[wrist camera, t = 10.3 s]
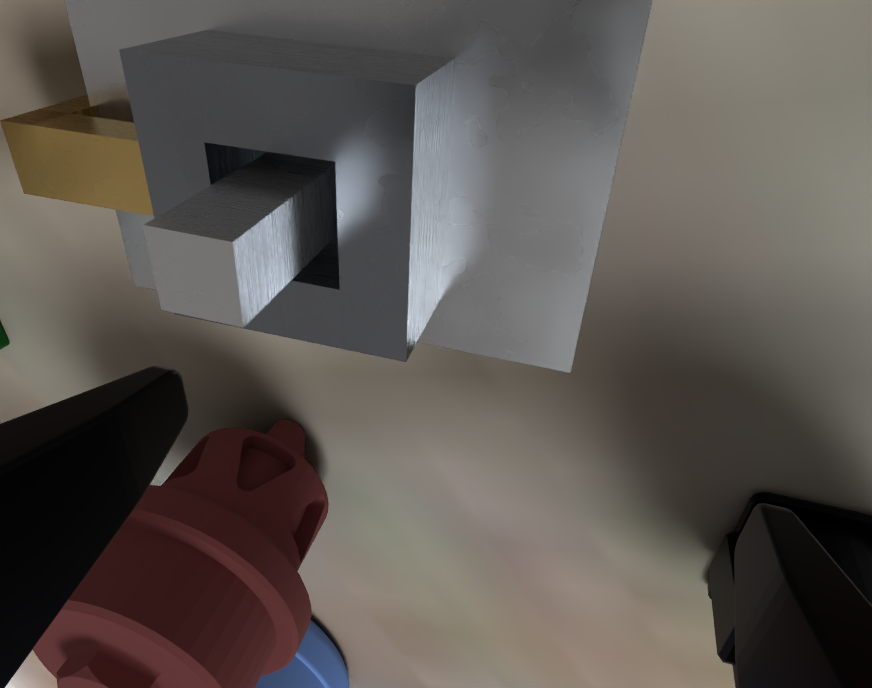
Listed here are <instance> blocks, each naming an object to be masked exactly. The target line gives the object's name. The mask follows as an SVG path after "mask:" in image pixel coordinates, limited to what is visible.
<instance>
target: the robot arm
mask: <svg viewBox="0 0 872 688" xmlns="http://www.w3.org/2000/svg"><path fill="white" fill-rule="evenodd" d="M187 417H188V404H187V400H186V395H185V390H184V386H183V381H182V377H181V375H180V374H179V372H178V371H176V370H173V369H169V368H164V367H160V366H152V367H149V368H146V369H144V370H141V371H139V372H136V373H133V374H131V375H128V376H125V377H123V378H120V379H118V380H115V381H112V382H110V383H107V384H104V385H102V386H99V387H96V388H94V389H91V390H89V391H86V392H83V393H81V394H78V395H75V396H73V397H70V398H67V399H65V400H62V401H60V402H57V403H54V404H52V405H49V406H46V407H44V408H41V409H38V410H36V411H33V412H31V413H28V414H25V415H23V416H20V417H17V418H15V419H12V420H10V421H7V422H4V423H2V424H0V688H5V686H6V685H7V684H8V682H9V681H10V680H11V678H12V677H13V675H14V674H15V673H16V671H17V670H18V669H19V667H20V666H21V664H22V663H23V662H24V660H25V659H26V657H27V656H28V655H29V653H30V652H31V651H32V649H33V648H34V646H35V645H36V644H37V642H38V641H39V640H40V638H41V637H42V635H43V634H44V633H45V631H46V630H47V628H48V627H49V626H50V624H51V623H52V622H53V620H54V619H55V617H56V616H57V615H58V613H59V612H60V611H61V609H62V608H63V606H64V605H65V604H66V602H67V601H68V599H69V598H70V597H71V595H72V594H73V593H74V591H75V590H76V588H77V587H78V586H79V584H80V583H81V582H82V580H83V579H84V577H85V576H86V575H87V573H88V572H89V570H90V569H91V568H92V566H93V565H94V564H95V562H96V561H97V559H98V558H99V557H100V555H101V554H102V553H103V551H104V550H105V548H106V547H107V546H108V544H109V543H110V542H111V540H112V539H113V537H114V536H115V535H116V533H117V532H118V530H119V529H120V528H121V526H122V525H123V524H124V522H125V521H126V519H127V518H128V517H129V515H130V514H131V513H132V511H133V510H134V508H135V507H136V505H137V504H138V502H139V501H140V499H141V498H142V496H143V495H144V493H145V492H146V490H147V488H148V487H149V485H150V483H151V482H152V480H153V478H154V476H155V475H156V473H157V471H158V470H159V468H160V466H161V464H162V463H163V461H164V459H165V457H166V456H167V454H168V452H169V450H170V449H171V447H172V445H173V444H174V442H175V440H176V438H177V437H178V435H179V433H180V431H181V430H182V428H183V426H184V425H185V422H186V420H187ZM709 580H710V582H709V584H708V595H709V597H710V599H712V608H713V617H714V627H715V636H716V645H717V654H718V656H719V657H720V659H721V660H722V661H723V662H724V663H728V664H732V665H733V672H734V680H735V687H736V688H872V516H870V515H866V514H861V513H857V512H852V511H848V510H844V509H839V508H835V507H830V506H826V505H821V504H817V503H812V502H808V501H803V500H799V499H794V498H790V497H785V496H781V495H776V494H772V493H766V492H761V493H757V494H755V495H753V496H752V497H751V498H750V500H749V502H748V504H747V506H746V508H745V510H744V512H743V514H742V516H741V518H740V520H739V522H738V525H737V527H736V529H735V531H731V532H729V533H728V534H727V535H726V536H725V538H724V540H723V542H722V544H721V546H720V548H719V550H718V553H717V555H716V557H715V559H714V561H713V563H712V565H711V567H710V569H709Z"/></svg>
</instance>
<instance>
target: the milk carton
mask: <svg viewBox="0 0 872 688" xmlns="http://www.w3.org/2000/svg"><path fill="white" fill-rule="evenodd" d="M7 345H9V341H8V339H7V337H6V335H5V333H4V330H3V328H2V326H1V324H0V349H2V348H3V347H5V346H7Z"/></svg>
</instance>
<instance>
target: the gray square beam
mask: <svg viewBox="0 0 872 688" xmlns="http://www.w3.org/2000/svg"><path fill="white" fill-rule="evenodd" d="M143 227H144V232H145V236H146V241H147V246H148V250H149V255H150V260H151V265H152V269H153V274H154V279H155V283H156V288H157V293H158V298H159V302H160V307H161V310H165V311H169V312H174V313H179V314H183V315H188V316H192V317H197V318H202V319H206V320H211V321H215V322H220V323H225V324H229V325H234V326H238V327H243V328H244V327H245V326H246V325H247V324H248V323H249V322H250V321H251V320H252V319H253V318H254V317H255V316H256V315H257V314H258V313H259V312H260V311H261V310H262V309H263V308H264V307H265V306H266V305H267V304H268V303H269V302H270V301H271V300H272V299H273V298H274V297H275V296H276V295H277V294H278V293H279V292H280V291H281V290H282V289H283V288H284V287H285V286H286V285H287V284H288V283H289V282H290V281H291V280H292V279H293V278H294V277H295V276H296V275H297V274H298V273H299V272H300V271H301V270H302V269H303V268H304V267H305V266H306V265H307V264H308V263H309V262H310V261H311V260H312V259H313V258H314V257H315V256H316V255H317V254H318V253H319V252H320V251H321V250H322V249H323V248H324V247H325V246H326V245H327V244H328V243H329V242H330V241H331V240H332V239H333V238H334V237H335V236H336V235H337V234H338V228H337V199H336V171H335V162H334V161H327V160H321V159H314V158H307V157H300V156H294V155H287V154H280V153H273V152H266V153H265V154H263V155H261V156H259V157H258V158H256V159H254V160H253V161H251V162H249V163H248V164H246V165H244V166H242V167H241V168H239V169H237V170H236V171H234V172H232V173H231V174H229V175H227V176H225V177H224V178H222V179H220V180H219V181H217V182H215V183H214V184H212V185H210V186H209V187H207V188H205V189H203V190H202V191H200V192H198V193H197V194H195V195H193V196H192V197H190V198H188V199H186V200H185V201H183V202H181V203H180V204H178V205H176V206H175V207H173V208H171V209H169V210H168V211H166V212H164V213H163V214H161V215H159V216H158V217H156V218H154V219H153V220H151V221H149V222H147V223H146V224H144V225H143Z"/></svg>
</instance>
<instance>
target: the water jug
mask: <svg viewBox="0 0 872 688" xmlns="http://www.w3.org/2000/svg"><path fill="white" fill-rule="evenodd" d="M255 688H349V677H348V673H347V669H346V666H345V664H344V661H343V659H342V657H341V655H340V653H339V652H338V650H337V649H336V647H335V646H334V644H333V643H332V641H331V640H330V639H329V638H328V637H327V635H326V634H325V633H324V632H323V631H322V630H321V629H320V628H319V627H318V626H317V625H316V624H315V623H314V622H313V621H312V620H310V624H309V627H308V629H307V632H306V634H305V636H304V638H303V640H302V642H301V644H300V646H299V648H298V650H297V653H296V655H295V656H294V658H293V659H292V661H291V662H290V663H289V664H288V665H286V666H285V667H284V668H282V669H280V670H278V671H276V672H273V673H270V674H266V675H262V676H261V677H260V679H259V681H258V683H257V685H256V687H255Z"/></svg>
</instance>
